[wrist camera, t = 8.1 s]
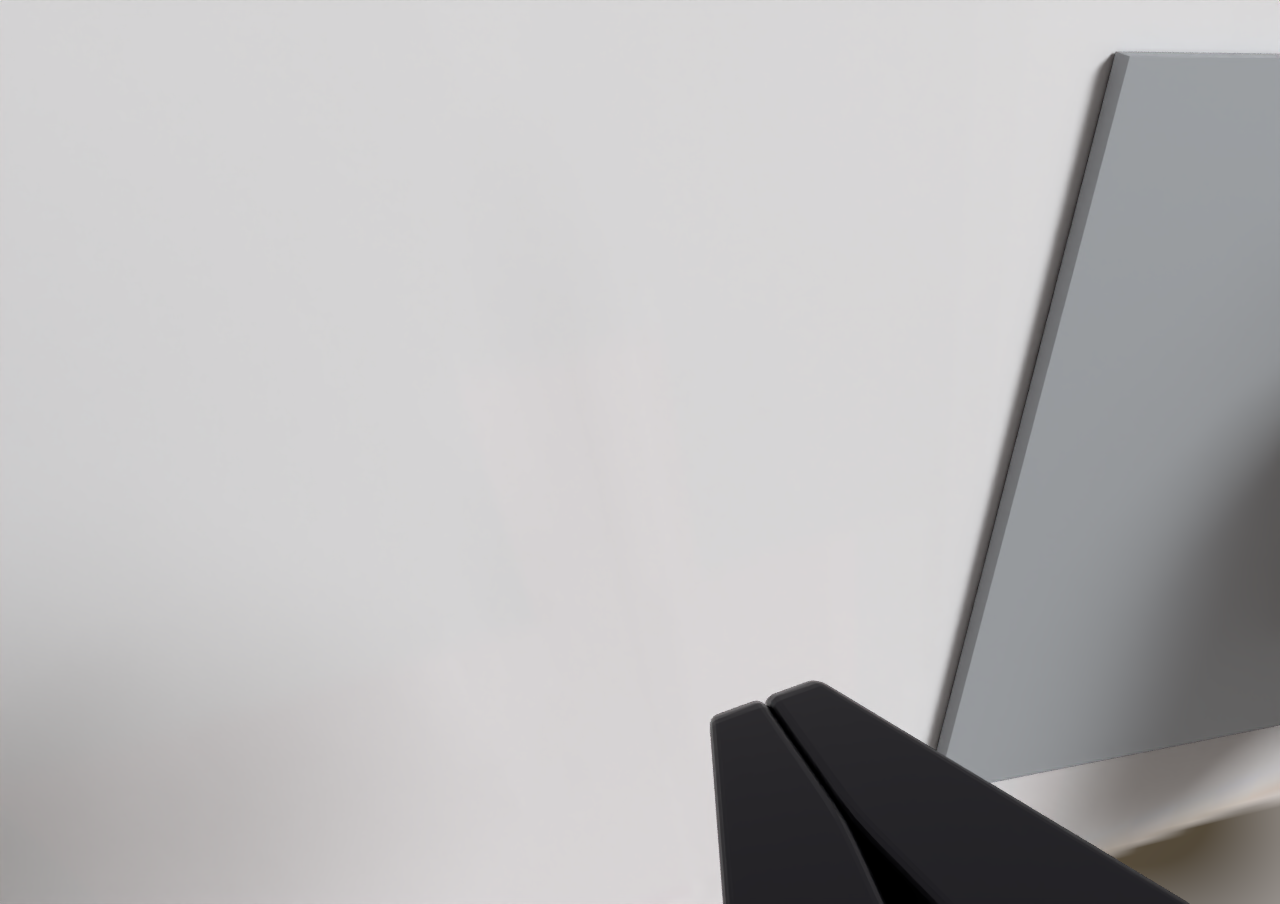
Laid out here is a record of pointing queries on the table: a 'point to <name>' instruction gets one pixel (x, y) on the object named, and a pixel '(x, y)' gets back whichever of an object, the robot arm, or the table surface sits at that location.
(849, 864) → the robot arm
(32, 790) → the table surface
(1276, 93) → the runner mat
